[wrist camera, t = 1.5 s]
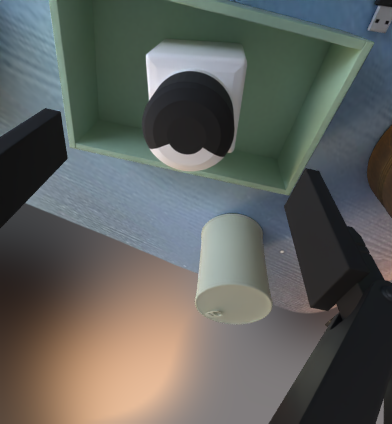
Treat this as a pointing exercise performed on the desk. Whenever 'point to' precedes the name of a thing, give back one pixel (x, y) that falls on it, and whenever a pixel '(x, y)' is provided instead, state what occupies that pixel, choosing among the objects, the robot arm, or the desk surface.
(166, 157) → the medicine bottle
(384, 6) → the usb flash drive
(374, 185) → the wooden container
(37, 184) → the robot arm
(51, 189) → the desk surface
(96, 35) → the bin
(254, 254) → the can
